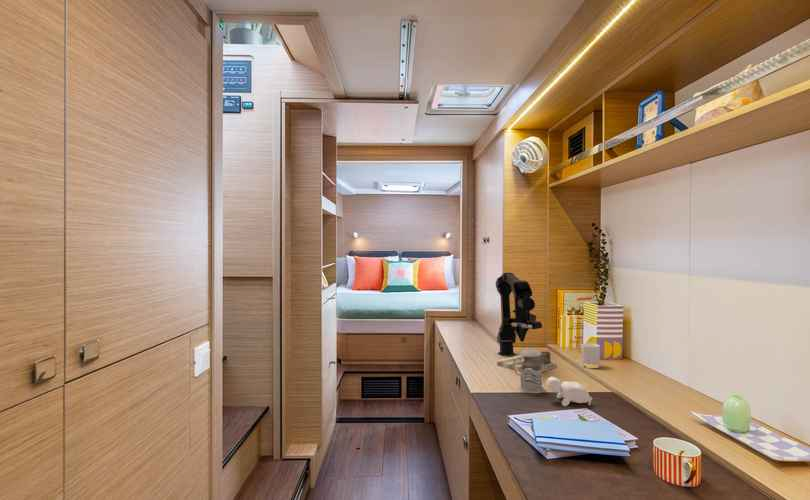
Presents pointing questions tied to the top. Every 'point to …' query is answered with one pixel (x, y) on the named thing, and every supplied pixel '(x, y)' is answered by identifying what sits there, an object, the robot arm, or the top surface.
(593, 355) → the white cup
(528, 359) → the walnut leg
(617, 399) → the top surface
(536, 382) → the french press
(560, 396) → the white animal figurine
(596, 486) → the top surface
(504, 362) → the stool seat
